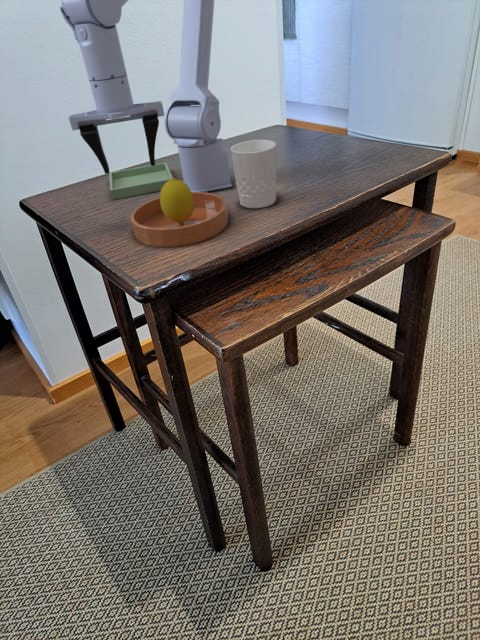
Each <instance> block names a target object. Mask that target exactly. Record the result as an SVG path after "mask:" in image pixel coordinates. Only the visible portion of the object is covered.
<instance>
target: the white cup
mask: <svg viewBox="0 0 480 640" xmlns="http://www.w3.org/2000/svg"><path fill="white" fill-rule="evenodd" d="M230 154H231V161H232V166H233V167H232V168H233V174H234V178H235V185H236V190H237V193H238V198H239V204H240V206H242V207H243V208H246V209H261V208H266V207H269V206H272V205H273V204H275V203H276V201H277V176H278V175H277V173H278V171H277V143H276V142H275V141H273V140H268V139H254V140H247V141H243V142H242V141H241V142H238V143H236V144H233V145H232V146H231V147H230Z"/></svg>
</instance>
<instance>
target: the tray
mask: <svg viewBox="0 0 480 640" xmlns="http://www.w3.org/2000/svg"><path fill="white" fill-rule="evenodd" d="M108 177H109V178H108V179H109V192H110V196H111V200H119V199H122V198H123V199H124V198H129V197H135V196H140V195H146V194H150V193H151V194H152V193H156V192H161V189H162V187H163V185H164V184H165V183H166V182H168V181H170V179H171V178H174V177H173V174H172V172H171V170H170V167H169V165H168V163H167V162H160V163H155V165H154V166H151V164H149V165H144V166H138V167H132V168H127V169H121V170H116V171H109V173H108Z"/></svg>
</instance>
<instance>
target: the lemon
mask: <svg viewBox="0 0 480 640" xmlns="http://www.w3.org/2000/svg"><path fill="white" fill-rule="evenodd" d="M183 181H184V180H183ZM183 181H182V180H180V179H177V178H176V177H173V178H171V179H170V181H168V182H166V183H165V184H164V185H163V187H162V189H161V191H159V192H160V193H159V197H160V203H161V208H162V211H163V213H164V214H165V216H166V217H167V218H168V219H170V220H172V221H174V222H177V223H179V224H183V223H184V221H185V220H187V219H188V218H189V217H190V216H191V214H192V212H193V208H194V200H193V196H192V193H191V191H190V189H189V187H188V186H187V184H185V183H184V182H183Z"/></svg>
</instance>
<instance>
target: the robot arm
mask: <svg viewBox="0 0 480 640" xmlns="http://www.w3.org/2000/svg"><path fill="white" fill-rule="evenodd" d="M128 2H129V0H61V6H60V7H59V10H60V14H61V16H62V18H63V19H64V21H65V23H66V24H68V26H69V27H70V29H71V30H72V33H73V35H74V39H75V41H76V42H77V44H78V45H79V48H80V53H81V55H82V59H83V63H84V67H85V71H86V74H87V78H88V81H89V85H90V89H91V94H92V97H93V100H94V105H95V107H96V109H95V110H90V111H85V112H81V113H75V114H69V116H68V121H69V125H70V127H71V131H79V132H80V134H79V135H80V137H81V138H82V140H83V141H84V142H85V143H86V145H88V147H89V148H90V150H91V151H92V152H93V154H94V156H96V158H97V159H98V161H99V164H100V165H101V167H102V169H103V173H104V174H105V175H106V174H107V175H109V172H110V167H109V162H108V160H107V157H106V154H105V152H104V151H105V150H104V148H103V145H102V141H101V137H100V133H99V128H98V126H99V127H100V126H104V125H110V124H116V123H117V124H118V123H123V122H129V121H135V120H141V121H142V125H143V129H144V134H145V139H146V144H147V151H148V158H149V163H150V165H151V166H154V165H155V164H156V160H155V159H156V158H155V152H156V151H155V150H156V142H157V141H156V140H157V134H158V130H159V125H160V120H159V118H160V117H164V119H163V122H164V123H163V124H164V129H165V132H166V134H167V136H168V137H169V138H171V139H172V140H173V144H174V145H177V151H178V157H179V162H180V168H181V173H182V174H181V175H182V180H183V182H184V183H185V184H187V186H188V187H189V189H190V191H191V192H206V193H209V192H212V191H218V190H223V189H229V188H232V187H233V185H232V182H231V181H232V180H231V174H230V165H229V157H228V156H229V155H228V151H227V146H226V143H225V140H224V138H221V137H220V138H218V136H219V135H220V131H221V127H222V126H221V125H222V122H221V121H222V119H221V116H220V100H219V99H218V98H217V97H216V95H214V93H212V91H211V90H210V89H209V79H210V65H211V54H212V53H211V51H212V39H213V38H212V37H213V27H214V26H213V25H214V11H215V0H183V9H182V10H183V13H182V28H181V45H180V46H181V47H180V66H179V85H178V86H177V87H176V88H175V89H174V90H173V92H172V93H171V94H170V95H169V97H168V103H167V108H166V111H164V107H163V102H162V101H160V100H159V101H151V102H141V103H134V100H133V96H132V93H131V92H132V91H131V86H130V81H129V78H128V73H127V68H126V64H125V61H124V56H123V50H122V45H121V42H120V38H119V37H120V36H119V32H118V28H117V24H119V23H120V21H121V18H122V13H123V12H122V8H123V7H124V6H125V5H126V3H128Z"/></svg>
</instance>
